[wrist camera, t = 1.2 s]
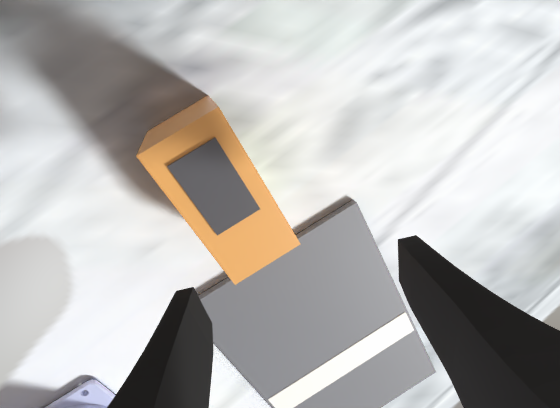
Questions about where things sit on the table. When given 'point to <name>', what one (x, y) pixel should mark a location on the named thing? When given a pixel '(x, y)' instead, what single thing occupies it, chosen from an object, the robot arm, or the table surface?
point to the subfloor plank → (321, 322)
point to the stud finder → (217, 189)
